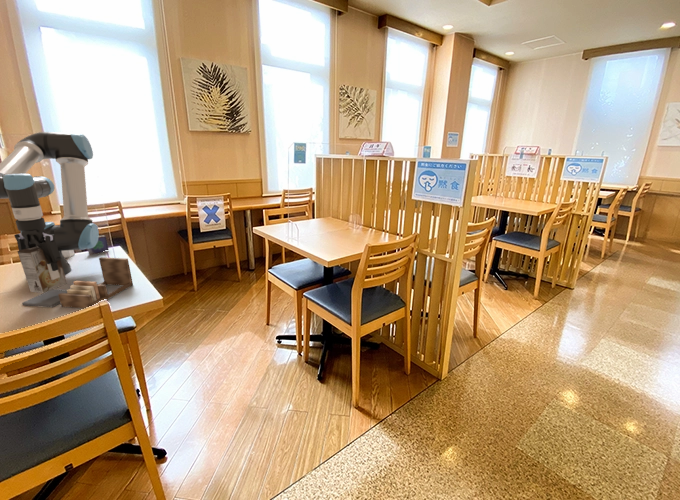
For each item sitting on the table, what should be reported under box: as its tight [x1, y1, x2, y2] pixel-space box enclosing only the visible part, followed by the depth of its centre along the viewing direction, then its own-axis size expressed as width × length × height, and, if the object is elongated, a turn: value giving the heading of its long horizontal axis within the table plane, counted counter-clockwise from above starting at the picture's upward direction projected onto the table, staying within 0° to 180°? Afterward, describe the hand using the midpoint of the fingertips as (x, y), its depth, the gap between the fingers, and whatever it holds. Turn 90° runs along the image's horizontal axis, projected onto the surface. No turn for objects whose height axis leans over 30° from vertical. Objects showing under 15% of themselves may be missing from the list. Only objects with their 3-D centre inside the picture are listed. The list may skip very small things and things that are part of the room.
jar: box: [62, 250, 75, 259], centre depth 170 cm, size 9×8×12 cm
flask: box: [87, 234, 110, 256], centre depth 176 cm, size 9×3×11 cm, turn 141°
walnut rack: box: [58, 256, 134, 309], centre depth 127 cm, size 12×21×12 cm, turn 174°
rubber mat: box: [21, 288, 68, 308], centre depth 125 cm, size 12×12×1 cm
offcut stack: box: [66, 280, 100, 302], centre depth 121 cm, size 8×4×8 cm, turn 84°
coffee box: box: [17, 246, 68, 294], centre depth 121 cm, size 9×6×16 cm
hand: (46, 277), depth 122 cm, fingers closed on coffee box, 7 cm apart
